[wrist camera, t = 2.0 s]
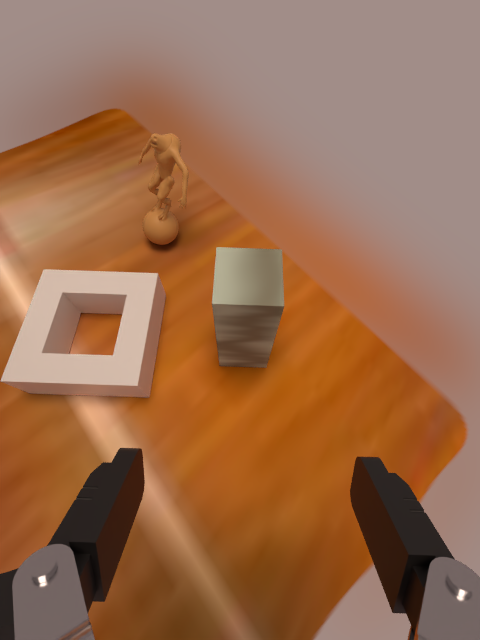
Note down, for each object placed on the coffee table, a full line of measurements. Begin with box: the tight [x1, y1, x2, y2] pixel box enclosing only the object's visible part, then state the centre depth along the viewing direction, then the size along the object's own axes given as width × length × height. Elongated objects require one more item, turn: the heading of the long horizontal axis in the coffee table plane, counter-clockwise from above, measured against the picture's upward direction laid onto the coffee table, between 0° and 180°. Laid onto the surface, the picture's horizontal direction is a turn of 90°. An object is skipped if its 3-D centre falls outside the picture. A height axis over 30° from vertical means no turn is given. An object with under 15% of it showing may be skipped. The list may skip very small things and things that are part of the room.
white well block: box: [1, 269, 166, 398], centre depth 29 cm, size 11×11×4 cm
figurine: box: [139, 133, 188, 245], centre depth 32 cm, size 8×6×12 cm
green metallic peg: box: [212, 247, 284, 368], centre depth 26 cm, size 4×4×12 cm
